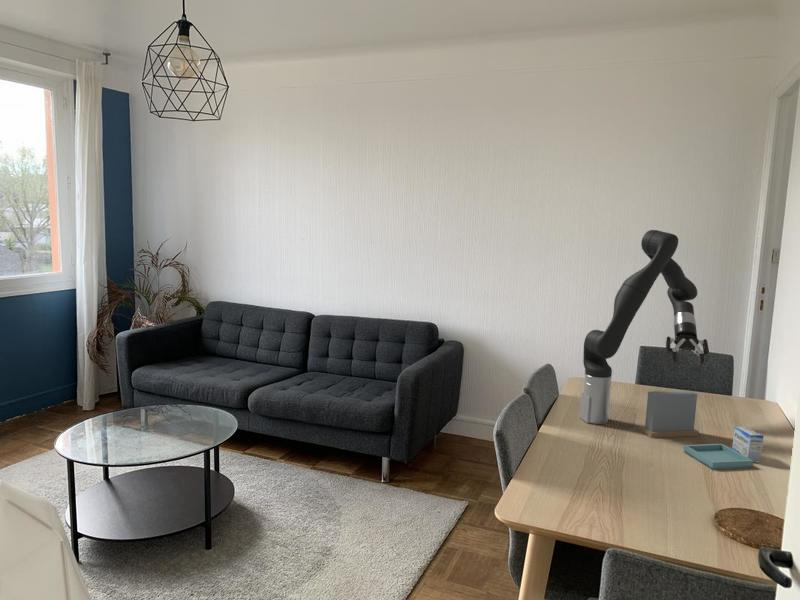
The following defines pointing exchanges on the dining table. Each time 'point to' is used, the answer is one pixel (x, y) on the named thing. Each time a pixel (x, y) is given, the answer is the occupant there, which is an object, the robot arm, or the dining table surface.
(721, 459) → the teal tray
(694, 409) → the slate unit
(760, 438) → the medicine box
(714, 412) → the dining table surface
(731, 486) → the dining table surface
